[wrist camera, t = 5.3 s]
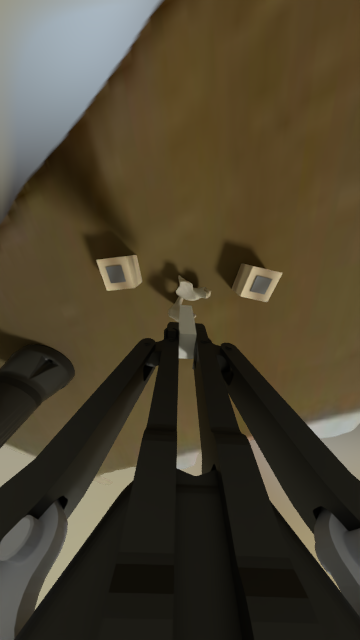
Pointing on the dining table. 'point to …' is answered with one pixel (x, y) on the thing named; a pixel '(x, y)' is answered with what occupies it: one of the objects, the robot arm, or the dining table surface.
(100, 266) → the marked cube 2
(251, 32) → the dining table surface
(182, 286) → the white irregular piece
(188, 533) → the robot arm
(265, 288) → the marked cube 1
